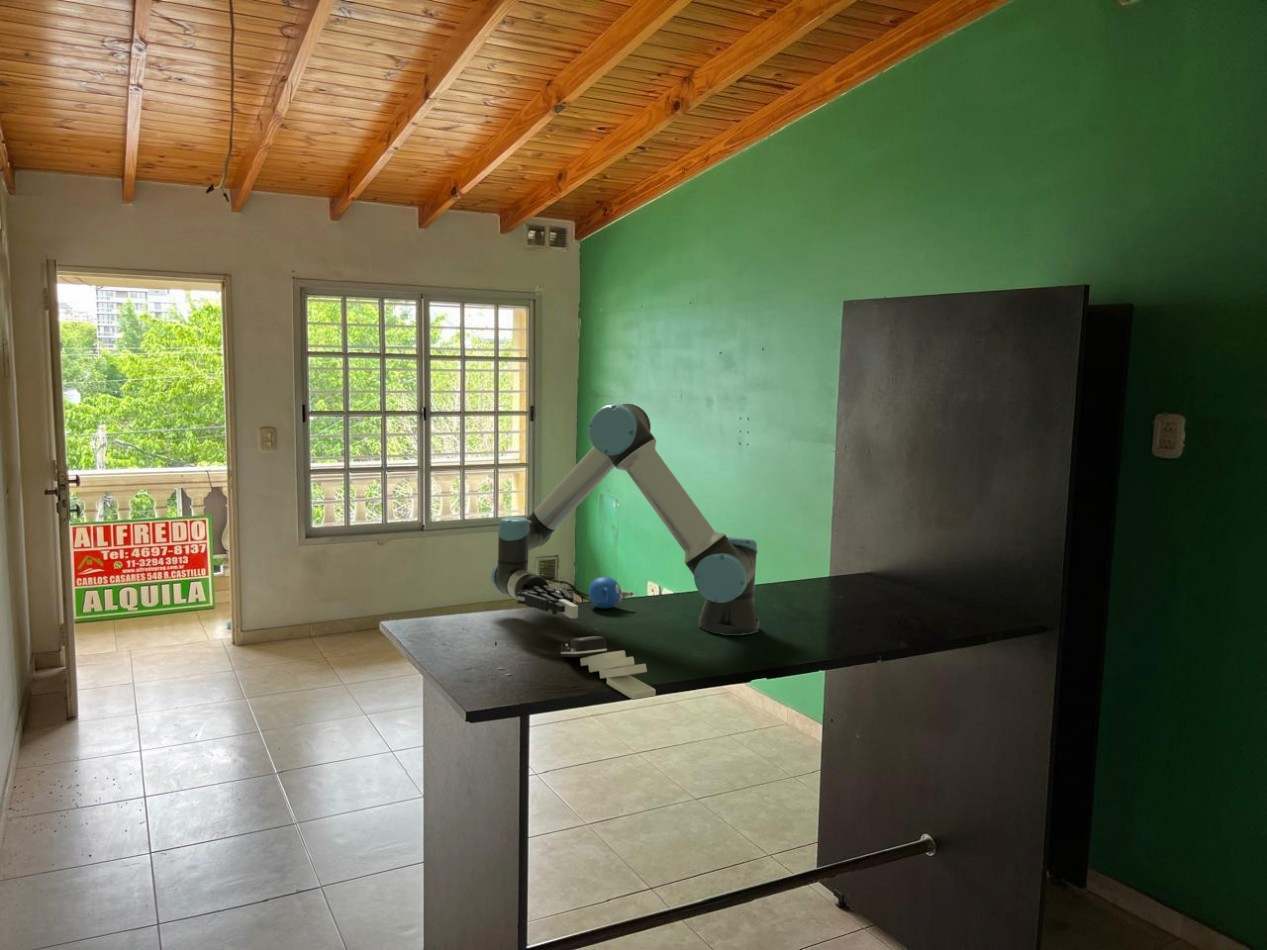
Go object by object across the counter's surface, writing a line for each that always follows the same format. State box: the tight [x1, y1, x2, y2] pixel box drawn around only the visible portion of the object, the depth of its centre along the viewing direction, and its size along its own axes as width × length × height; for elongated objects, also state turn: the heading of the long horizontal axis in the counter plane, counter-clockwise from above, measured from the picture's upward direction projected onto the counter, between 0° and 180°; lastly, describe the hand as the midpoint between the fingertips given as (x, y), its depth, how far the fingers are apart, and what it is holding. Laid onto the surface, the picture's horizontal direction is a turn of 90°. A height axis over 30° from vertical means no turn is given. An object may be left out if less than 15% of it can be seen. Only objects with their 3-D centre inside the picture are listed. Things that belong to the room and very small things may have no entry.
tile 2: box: [587, 656, 636, 673], centre depth 179 cm, size 5×2×10 cm
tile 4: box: [606, 674, 657, 701], centre depth 172 cm, size 5×2×10 cm
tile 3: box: [598, 663, 648, 679], centre depth 175 cm, size 5×2×10 cm
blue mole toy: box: [588, 576, 634, 610], centre depth 234 cm, size 12×12×8 cm
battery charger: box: [560, 635, 608, 658], centre depth 187 cm, size 7×4×11 cm
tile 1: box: [579, 650, 627, 667], centre depth 182 cm, size 5×2×10 cm
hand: (574, 612), depth 192 cm, fingers closed
